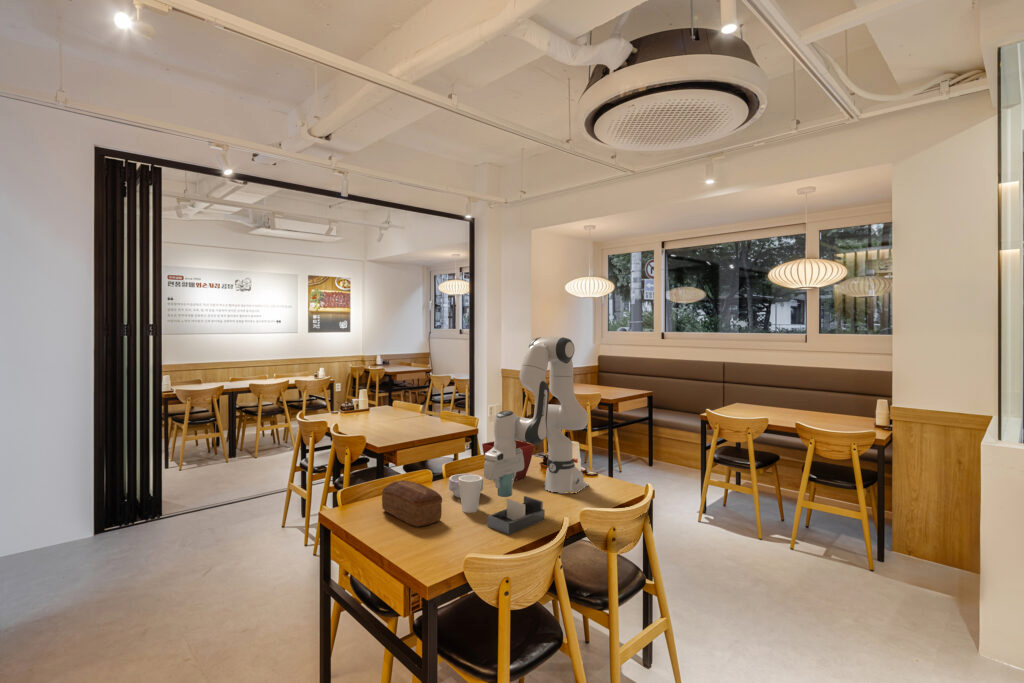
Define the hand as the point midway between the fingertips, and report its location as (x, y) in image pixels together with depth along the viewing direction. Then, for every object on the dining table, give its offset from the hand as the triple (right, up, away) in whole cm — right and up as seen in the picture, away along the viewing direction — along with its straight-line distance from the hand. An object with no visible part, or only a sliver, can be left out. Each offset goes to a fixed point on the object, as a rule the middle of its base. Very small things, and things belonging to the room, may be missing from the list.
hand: (504, 485), depth 198 cm
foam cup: (-14, -10, 0) cm, 18 cm away
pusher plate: (+4, -9, -14) cm, 17 cm away
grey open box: (+5, -10, -13) cm, 17 cm away
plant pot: (+1, -10, +47) cm, 48 cm away
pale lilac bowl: (-18, -10, +19) cm, 27 cm away
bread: (-37, -10, -7) cm, 39 cm away
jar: (0, -4, 0) cm, 4 cm away
